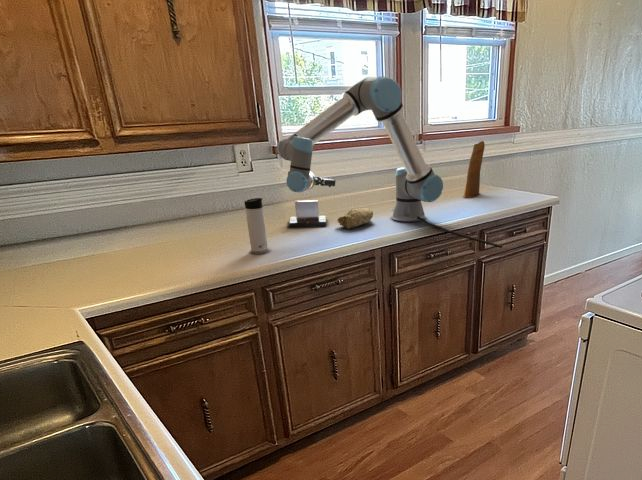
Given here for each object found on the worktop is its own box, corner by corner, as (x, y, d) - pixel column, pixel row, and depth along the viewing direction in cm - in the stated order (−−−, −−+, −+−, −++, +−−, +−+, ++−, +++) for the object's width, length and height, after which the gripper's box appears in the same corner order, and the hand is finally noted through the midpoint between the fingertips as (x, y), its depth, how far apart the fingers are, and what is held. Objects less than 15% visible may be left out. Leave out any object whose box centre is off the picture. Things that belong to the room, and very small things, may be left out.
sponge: (353, 233, 225) (384, 216, 236) (347, 216, 222) (379, 199, 232) (335, 233, 234) (365, 216, 245) (329, 217, 231) (360, 200, 241)
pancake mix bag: (485, 193, 297) (489, 140, 283) (471, 199, 282) (474, 144, 269) (474, 192, 300) (477, 140, 286) (459, 198, 285) (462, 143, 272)
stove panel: (325, 219, 243) (325, 214, 242) (326, 226, 231) (325, 222, 230) (291, 220, 241) (290, 215, 240) (289, 228, 229) (289, 223, 228)
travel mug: (264, 254, 195) (257, 200, 185) (248, 253, 196) (240, 199, 186) (271, 249, 200) (265, 196, 191) (255, 248, 201) (248, 196, 192)
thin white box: (318, 218, 237) (317, 199, 233) (318, 219, 235) (317, 200, 231) (296, 219, 235) (295, 200, 231) (296, 220, 234) (294, 201, 230)
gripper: (272, 184, 207) (286, 181, 226) (334, 195, 207) (342, 192, 227) (274, 164, 204) (287, 163, 223) (336, 176, 204) (344, 174, 224)
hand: (315, 177), depth 225 cm, fingers open, 13 cm apart
